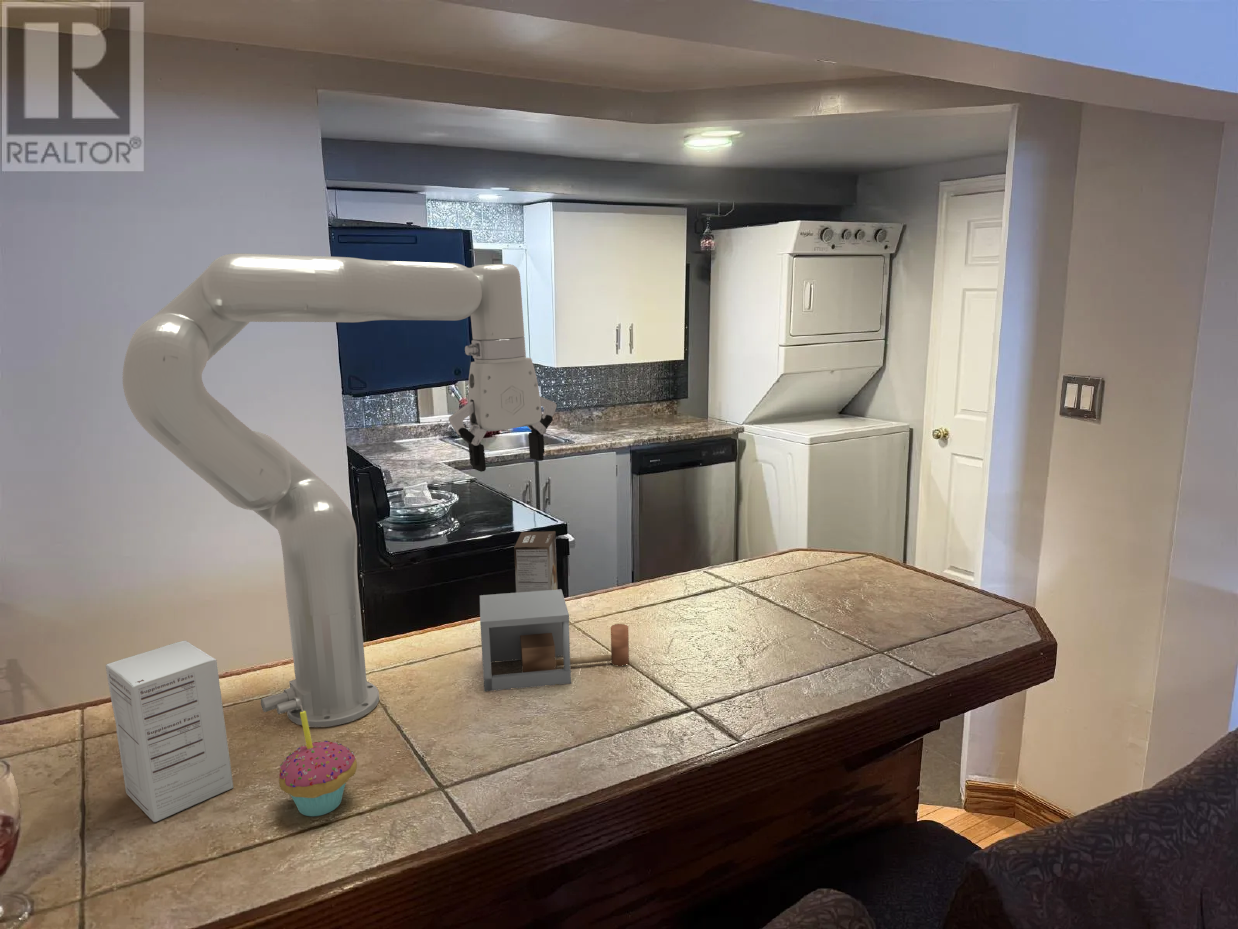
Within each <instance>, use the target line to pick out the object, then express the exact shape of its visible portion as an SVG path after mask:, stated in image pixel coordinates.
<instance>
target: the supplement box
mask: <svg viewBox="0 0 1238 929" xmlns="http://www.w3.org/2000/svg"><path fill="white" fill-rule="evenodd" d="M217 661H218V660H217V659H216V658H215V657H213V656H211V655H209V654H207V652H205V651H203V650H201V649H200V648H198V647H197V646H195V645H193V644H192V643H190V642H189V641H188V640H182V641H177V642H174V643H171V644H167V645H165V646H164V645H163V646H161V647H157V648H154V649H151V650H148V651H145V652H141V653H138V654H136V655H132V656H129V657H125V658H122V659H119V660H116V661H113V662H110V663H109V662H108V663H107V664H105V671H106V676H107V682H108V688H109V693H110V700H111V706H112V711H113V716H114V722H115V726H116V736H117V743H118V748H119V751H118V752H119V756H120V762H121V766H122V767H121V768H122V774H123V782H124V787H125V792H126V795H127V796H128V797H129V798H130V799H131V800H132V801H133V802H134V803H135V805H137V806H138V807H139V809H141V810H142V811H143V812H144V813H145V815H146V816H147V817H148V818H149V819H150V820H151V821H152V822H153V823H157V822H158V821H161V820H163V819H166V818H168V817H170V816H172V815H175V814H176V813H180V812H181V811H185V809H189V808H190V807H192V806H195V805H198V804H200V803H202V802H204V801H207V800H208V799H211V798H213V797H215V796H217V795H220V794H223V793H224V792H226V791H229V790H231V789H233V788H234V781H233V775H232V766H231V759H230V754H229V752H230V751H229V745H228V737H227V730H226V728H227V727H226V721H225V714H224V708H223V707H224V706H223V701H222V700H223V699H222V698H223V697H222V692H221V685H220V677H219V670H218V668H219V667H218V662H217Z"/></svg>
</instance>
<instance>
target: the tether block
mask: <svg viewBox="0 0 1238 929" xmlns="http://www.w3.org/2000/svg"><path fill="white" fill-rule="evenodd" d="M629 633H630V632H629V625H627V624H624V623H616V624H612V625H611V626H610V650H611V651H610V653H611V654H602V655H592V656H591V655H590V656H580V657H579V656H578V657H570V666H573V665H581V664H582V665H583V664H591V663H604V662H612V663H611V665H612V664H614V665H618V666H622V665H626V664H628V663H629V664H630V648H629V647H630V645H629V642H630V640H629V638H630V637H629V636H630V635H629ZM520 642H521V660H520V662H521V671H522V672H521V673H523V672H534V671H545V670H556V669H557V668H556V667H561V666H564V661H563V658H559V659H556V657H555V645H554V640H553V636H552V633H544V634H532V635H521V636H520ZM629 664H628V665H629ZM614 665H613V666H614ZM626 666H627V665H626ZM622 667H623V666H622Z"/></svg>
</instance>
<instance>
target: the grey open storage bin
mask: <svg viewBox="0 0 1238 929" xmlns="http://www.w3.org/2000/svg"><path fill="white" fill-rule="evenodd" d="M567 606H568V605H567V604H566V600H565V596H564V594H563V590H562V589H561V588H560V589H558V590H545V591H532V592H519V593H516V592H510V593H509V592H508V593H496V594H493V593H492V594H483V595H482V594H481V595H479V617H480V620H479V623H480V640H481V661H482V675H483V676H482V677H483V692H484V691H485V692H493V691H494V690H496V691H504V690H503V689H506V690H512V689H511V688H517V689H525V688H526V687H527V688H534V687H535V688H538V687H546V686H545V685H549V686H556V685H555V684H559V685H569V684H572V671H571V665H570V658H571V649H570V645H571V644H570V613H569V610H568V608H567ZM544 633H552V636H553V640H554V645H555V658H558V657H563V658H562V659H563V661H564V665H563V668H558V669H557V668H556V670H545V671H534V672H515V673H514V672H513V673H503V674H492V663H496V662H495V661H502V662H510V661H521V642H520V636H521V635H532V634H544ZM557 656H558V657H557ZM537 686H538V687H537Z"/></svg>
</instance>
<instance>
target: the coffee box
mask: <svg viewBox="0 0 1238 929" xmlns="http://www.w3.org/2000/svg"><path fill="white" fill-rule="evenodd" d="M556 542H557V539H556V531H555V530H553V531H550V530H549V531H523V532H520V534H519V537H518V538H517V540H516V543H515V544H514V547H513V550H514V551H513V553H514V555H513V556H514V570H515V572H514V573H515V574H514V575H515V593H519V592H532V591H545V590H558V572H557V570H558V569H557V568H558V567H557V547H556V546H557V543H556Z"/></svg>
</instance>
